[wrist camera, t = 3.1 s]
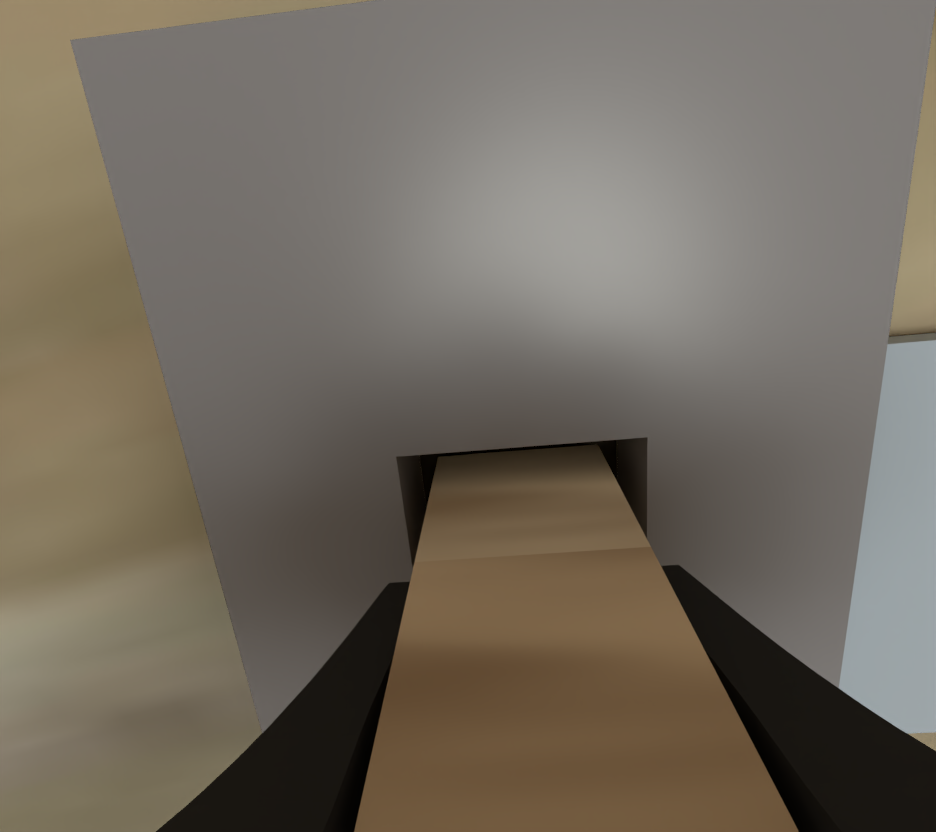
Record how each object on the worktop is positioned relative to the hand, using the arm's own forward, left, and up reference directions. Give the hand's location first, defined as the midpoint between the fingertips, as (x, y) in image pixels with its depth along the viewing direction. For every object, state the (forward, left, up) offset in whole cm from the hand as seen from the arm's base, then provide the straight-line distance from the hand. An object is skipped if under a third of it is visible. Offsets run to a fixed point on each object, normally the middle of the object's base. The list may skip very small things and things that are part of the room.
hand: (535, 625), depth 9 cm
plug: (0, 0, -3) cm, 3 cm away
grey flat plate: (0, 0, -4) cm, 4 cm away
